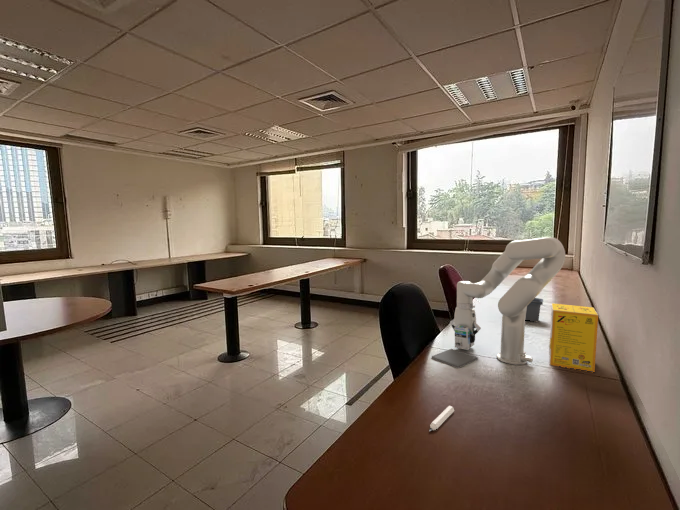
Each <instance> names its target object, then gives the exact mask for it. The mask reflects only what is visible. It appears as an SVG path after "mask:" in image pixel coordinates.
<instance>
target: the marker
mask: <svg viewBox="0 0 680 510" xmlns="http://www.w3.org/2000/svg"><path fill="white" fill-rule="evenodd" d="M454 412H455V409H454V406H451V405H448V406H447V407H446V408H445V409H444V410H443V411H442V412H441V413H440V414H439V415H438V416H437V417H436V418H435V419H434V420H433V421H432V422H431V423H430V424H429V426H430V427H429V429H428V430H429V432H432V431H437V430H438V429H439V428H440V427H441V426H442V424H443V423H444V422H445V421H447V420H448V419H449V417H450V416H451V415H452V414H453V413H454ZM436 429H437V430H436Z"/></svg>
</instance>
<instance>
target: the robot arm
mask: <svg viewBox="0 0 680 510" xmlns="http://www.w3.org/2000/svg"><path fill="white" fill-rule="evenodd" d="M564 247H565V246H564V245H563V243H562V242H561V241H560V240H559V239H558V238H556V237H553V236H552V237H551V236H547V237H539V238H532V239H531V238H530V239H523V240H520V239H519V240H512V241H510V242H509V243H507V245H506V247H505V250H504V251H503V252H502V253H501V254H500V255H499V256H498V258H497V259H495V260H494V262H493V263H492V265H491V269H490V270H489V271H488V273H487V274H486V275H485V276H484V277H483V278H482V279H481V280H480V281H478V282H472V281H469V280H460V281H458V282H457V283H456V307H455V310H454V316H453V317H454V318H453V319H452V320H450V321H449V324H450V325H451V328H452V330H453V332H455V326H457V325H460V326H464V327H468V328H469V330H470V333H471V335H470V343H473V342H474V343H475V341H476V335H477V333H479V332H480V330H481V329H482V328H481V327H480V325H479V324H478V323H477V314H476V310H475V308H476V304H474V298H475V299H483V298H485V297H486V296H489V295H490V294H492V292H493V291H495V290H496V289H497V288H498V287H499V286H500V284H501V283H502V282H503V281H504V280H505V279H507V277H509V275H510V274H511V273H512V272H514V270H515V269H516V268H518V266H519V265H521V263H522V262H523V261H526V260H528V261H529V260H539V261H538V262H537V263H536V264H534V267H533V268H532V269H530V270H529V271H528V273H526V274H525V275H524V276H522V277H520V278H519V279H518V280H516V282H515V283H514V284H512V286H510V288H509V289H508V290H507V291H506V292H505V293H504V294H503V295H502V296H501V298H500V299H499V300H498V303H497V309H498V311H499V312H500V314H501V315H502V316H501V332H500V334H501V336H500V352H498V353H497V354H496V358H497V360H499V361H501V362H503V363H506V364H510V365H518V366H521V365H525V364H527V363H531V364H532V363H533V361H534V358H533V357H532V356H530V355H527V352H526V351H525V350H524V349H525V348H524V347H525V334H526V333H525V332H526V331H525V329H526V321H525V318H526V310H527V305H528V304H529V303H530V302H531V301H532V300H533V299H534V298H537V296H539V295H540V294H541V292H542V291H543V289H544V288H545V287H547V285H548V284H549V283H550V282H551V281H552V280H553V279H554V277H556V276H557V274H558V273H559V272H560V271H561V269H562V268H563V266H564V264H565V261H566V250H565V248H564Z"/></svg>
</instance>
